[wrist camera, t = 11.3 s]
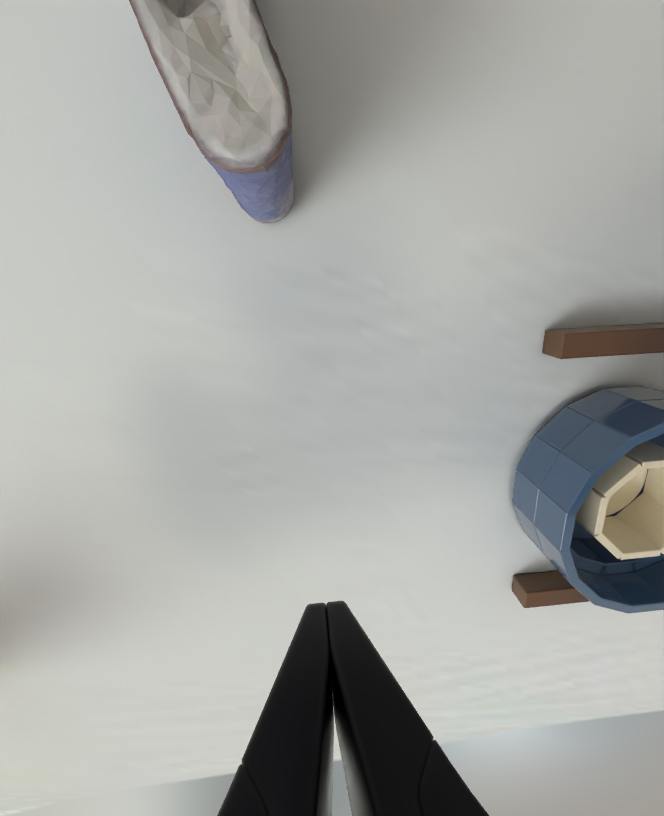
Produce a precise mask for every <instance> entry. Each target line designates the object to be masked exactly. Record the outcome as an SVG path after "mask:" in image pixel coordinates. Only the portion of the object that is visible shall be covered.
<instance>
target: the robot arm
mask: <svg viewBox="0 0 664 816" xmlns="http://www.w3.org/2000/svg"><path fill="white" fill-rule="evenodd" d="M332 694H333V696H332ZM333 706H334V714H333ZM334 716H335V723H336V729H337V735H338V740H339V746H340V751H341V757H342V762H343V768H344V773H345V778H346V784H347V789H348V795H349V800H350V806H351V811H352V816H489V815H488V813H487V812H486V811H485V810H484V808H483V807H482V806H481V804H480V803H479V802H478V800H477V799H476V798H475V797H474V795H473V794H472V793H471V792H470V790H469V788H468V787H467V786H466V784H465V783H464V781H463V780H462V778H461V777H460V775H459V774H458V773H457V771H456V770H455V768H454V767H453V765H452V764H451V763H450V761H449V760H448V758H447V756H446V755H445V753H444V752H443V750H442V749H441V747H440V746H439V744H438V743H437V741H436V740H433V736H432V734H431V732H430V731H429V729H428V728H427V726H426V725H425V723H424V722H423V720H422V719H421V717H420V716H419V714H418V713H417V711H416V710H415V708H414V707H413V705H412V704H411V702H410V700H409V699H408V697H407V696H406V694H405V693H404V691H403V690H402V688H401V687H400V685H399V684H398V682H397V681H396V679H395V678H394V676H393V675H392V673H391V672H390V670H389V668H388V667H387V665H386V664H385V662H384V661H383V659H382V658H381V656H380V655H379V653H378V652H377V650H376V649H375V647H374V646H373V644H372V643H371V641H370V640H369V638H368V636H367V635H366V633H365V632H364V630H363V629H362V627H361V626H360V624H359V623H358V621H357V620H356V618H355V617H354V615H353V614H352V612H351V611H350V609H349V608H348V606H347V604H346V603H345V602H344V601H335V602H328V603H327V604H326V605H325V604H324V603H315V604H309V605H307V607H306V609H305V611H304V613H303V616H302V618H301V621H300V623H299V625H298V628H297V630H296V632H295V635H294V637H293V640H292V642H291V644H290V647H289V649H288V651H287V654H286V656H285V659H284V661H283V663H282V666H281V668H280V670H279V673H278V675H277V678H276V680H275V682H274V685H273V687H272V689H271V692H270V694H269V697H268V699H267V701H266V704H265V706H264V708H263V711H262V713H261V716H260V718H259V720H258V723H257V725H256V727H255V730H254V732H253V735H252V737H251V739H250V742H249V744H248V746H247V749H246V751H245V754H244V756H243V758H242V764H241V765H239V767H238V770H237V772H236V774H235V777H234V779H233V782H232V784H231V786H230V789H229V791H228V793H227V795H226V798H225V800H224V802H223V804H222V806H221V809H220V811H219V813H218V815H217V816H332V780H333V779H332V778H333V740H334Z"/></svg>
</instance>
